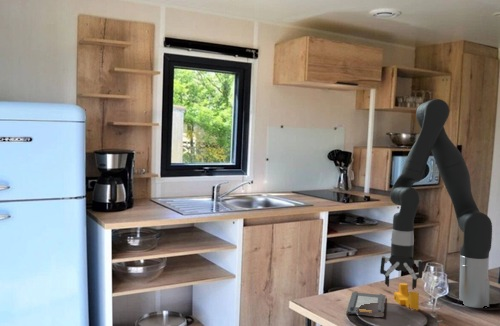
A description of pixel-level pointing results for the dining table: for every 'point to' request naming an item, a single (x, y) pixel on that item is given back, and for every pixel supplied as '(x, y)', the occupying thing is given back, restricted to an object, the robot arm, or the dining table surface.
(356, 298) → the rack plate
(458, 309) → the dining table surface
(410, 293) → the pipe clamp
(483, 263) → the robot arm
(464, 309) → the dining table surface
